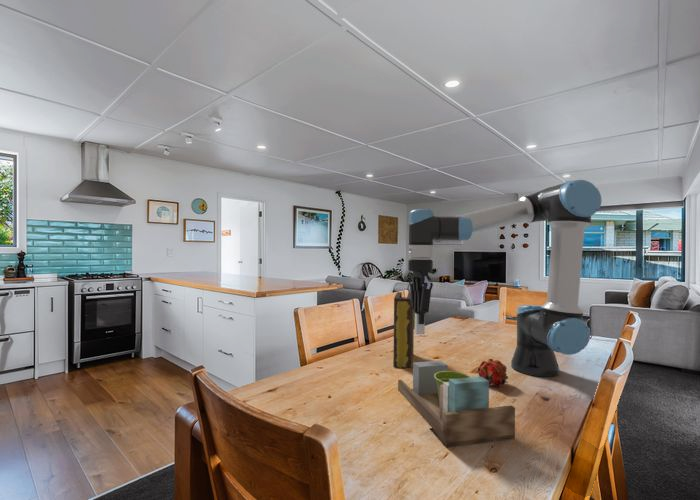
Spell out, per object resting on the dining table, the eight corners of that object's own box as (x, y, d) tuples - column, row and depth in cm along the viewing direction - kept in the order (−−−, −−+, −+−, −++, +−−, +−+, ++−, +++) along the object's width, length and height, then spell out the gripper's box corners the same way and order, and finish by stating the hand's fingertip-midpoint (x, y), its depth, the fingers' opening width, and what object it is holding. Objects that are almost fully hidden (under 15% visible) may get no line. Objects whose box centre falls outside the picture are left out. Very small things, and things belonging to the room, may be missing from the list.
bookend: (440, 387, 106) (441, 360, 106) (447, 392, 102) (447, 364, 102) (412, 389, 104) (413, 362, 104) (418, 394, 100) (418, 366, 100)
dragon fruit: (499, 384, 116) (490, 401, 106) (477, 365, 119) (466, 381, 110) (515, 367, 112) (507, 384, 103) (492, 348, 116) (482, 363, 106)
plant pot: (462, 402, 96) (463, 370, 96) (478, 418, 86) (478, 383, 86) (429, 403, 95) (429, 371, 95) (441, 420, 86) (441, 384, 86)
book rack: (450, 388, 108) (450, 346, 107) (514, 438, 79) (515, 381, 79) (398, 393, 104) (398, 349, 104) (445, 447, 75) (446, 387, 75)
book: (414, 369, 124) (414, 299, 124) (389, 367, 126) (390, 298, 126) (415, 352, 146) (415, 291, 146) (394, 350, 148) (395, 291, 148)
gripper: (401, 258, 116) (400, 329, 116) (417, 259, 103) (416, 339, 103) (422, 258, 118) (421, 328, 118) (441, 259, 105) (440, 338, 105)
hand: (419, 333), depth 111 cm, fingers closed
